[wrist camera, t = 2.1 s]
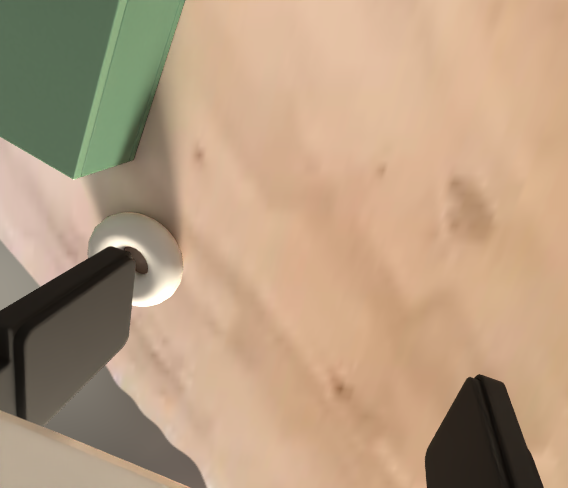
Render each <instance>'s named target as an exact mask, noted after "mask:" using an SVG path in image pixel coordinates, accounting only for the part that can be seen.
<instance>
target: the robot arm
mask: <svg viewBox="0 0 568 488" xmlns="http://www.w3.org/2000/svg"><path fill="white" fill-rule="evenodd" d="M135 268H136V262H135V260H134V259H132V256H131V253H130V252H127V251H124V250H121V249H119V248H116V247H113V246H109V247H107V248H105V249H103V250H102V251H100V252H98V253H97V254H95V255H93V256H91V257H90V258H88V259H86V260H85V261H83V262H81V263H80V264H78V265H76V266H75V267H73V268H71V269H70V270H68V271H66V272H65V273H63V274H61V275H60V276H58V277H56V278H55V279H53V280H51V281H50V282H48V283H46V284H44V285H43V286H41V287H39V288H38V289H36V290H34V291H33V292H31V293H29V294H28V295H26V296H24V297H23V298H21V299H19V300H18V301H16V302H14V303H13V304H11V305H9V306H8V307H6V308H4V309H3V310H1V311H0V488H190V487H188V486H185V485H183V484H180V483H178V482H176V481H173V480H170V479H168V478H166V477H164V476H161V475H159V474H156V473H154V472H151V471H149V470H147V469H144V468H142V467H139V466H137V465H135V464H132V463H130V462H127V461H125V460H122V459H120V458H117V457H115V456H113V455H110V454H108V453H105V452H103V451H101V450H98V449H96V448H93V447H91V446H88V445H86V444H84V443H81V442H79V441H76V440H74V439H71V438H69V437H67V436H64V435H62V434H59V433H56V432H54V431H52V430H49V429H47V428H44V426H45V425H46V424H47V423H48V422H49V421H50V420H51V419H52V418H53V417H54V416H55V415H56V414H57V413H58V412H59V411H60V410H61V409H62V408H63V407H64V406H65V405H66V404H67V403H68V402H69V401H70V400H71V399H72V398H73V397H74V396H75V395H76V394H77V393H78V392H79V391H80V390H81V389H82V388H83V387H84V386H85V385H86V384H87V383H88V382H89V381H90V380H91V379H92V378H93V377H94V376H95V375H96V374H97V373H98V372H99V371H100V370H101V369H102V368H103V367H104V366H105V365H106V364H107V363H108V362H109V361H110V360H111V359H112V358H113V357H114V356H115V355H116V354H117V353H118V352H119V351H120V350H121V349H122V348H123V347H124V345H125V344H126V342H127V340H128V337H129V329H130V319H131V309H132V299H133V288H134V278H135ZM425 469H426V482H427V488H544V487H543V484H542V482H541V479H540V476H539V473H538V471H537V468H536V465H535V462H534V460H533V457H532V455H531V453H530V451H529V450H528V448H527V446H526V443H525V440H524V437H523V434H522V432H521V429H520V426H519V423H518V421H517V418H516V415H515V412H514V409H513V407H512V404H511V401H510V398H509V396H508V393H507V390H506V387H505V385H504V383H502V382H500V381H497V380H495V379H492V378H489V377H486V376H483V375H480V374H479V375H477V376H476V377H475V378H471V377H468V378H467V379H466V381H465V383H464V384H463V386H462V388H461V390H460V391H459V393H458V395H457V397H456V399H455V400H454V402H453V404H452V406H451V407H450V409H449V411H448V413H447V415H446V416H445V418H444V420H443V422H442V423H441V425H440V427H439V429H438V431H437V432H436V434H435V436H434V438H433V439H432V441H431V443H430V445H429V447H428V449H427V452H426V456H425Z"/></svg>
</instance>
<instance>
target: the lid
mask: <svg viewBox="0 0 568 488" xmlns="http://www.w3.org/2000/svg"><path fill="white" fill-rule="evenodd" d="M126 2H127V0H0V137H2V138H3V139H5V140H7V141H9V142H10V143H12V144H14V145H15V146H17V147H19V148H20V149H22V150H24V151H26V152H27V153H29V154H31V155H32V156H34V157H36V158H38V159H39V160H41V161H43V162H44V163H46V164H48V165H50V166H51V167H53V168H55V169H56V170H58V171H60V172H61V173H63V174H65V175H67V176H68V177H70V178H72V179H77V178H80V176H81V172H82V168H83V165H84V161H85V157H86V153H87V150H88V146H89V142H90V138H91V134H92V131H93V127H94V123H95V119H96V116H97V112H98V108H99V104H100V100H101V97H102V93H103V89H104V85H105V82H106V78H107V74H108V70H109V66H110V63H111V59H112V55H113V51H114V48H115V44H116V40H117V36H118V32H119V29H120V25H121V21H122V17H123V14H124V10H125V6H126Z"/></svg>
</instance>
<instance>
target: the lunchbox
mask: <svg viewBox="0 0 568 488" xmlns="http://www.w3.org/2000/svg"><path fill="white" fill-rule="evenodd" d="M184 2H185V0H127V2H126V6H125V10H124V14H123V17H122V21H121V25H120V29H119V32H118V36H117V40H116V44H115V48H114V51H113V55H112V59H111V63H110V66H109V70H108V74H107V78H106V82H105V85H104V89H103V93H102V97H101V100H100V104H99V108H98V112H97V116H96V119H95V123H94V127H93V131H92V134H91V138H90V142H89V146H88V150H87V153H86V157H85V161H84V165H83V168H82V172H81V176H80V177H83V176H86V175H89V174H92V173H95V172H98V171H101V170H104V169H108V168H111V167H114V166H117V165H120V164H123V163H126V162H128V161H132V160H134V157H135V154H136V150H137V147H138V144H139V141H140V138H141V135H142V132H143V129H144V126H145V123H146V120H147V116H148V113H149V110H150V107H151V104H152V101H153V98H154V95H155V92H156V89H157V86H158V82H159V79H160V76H161V73H162V70H163V67H164V64H165V61H166V58H167V55H168V52H169V48H170V45H171V42H172V39H173V36H174V33H175V30H176V27H177V24H178V21H179V18H180V15H181V11H182V8H183V5H184Z"/></svg>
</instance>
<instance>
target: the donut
mask: <svg viewBox="0 0 568 488" xmlns="http://www.w3.org/2000/svg"><path fill="white" fill-rule="evenodd" d="M109 246H113V247H116V248H119V249H121V250H124V248H125V247H126V246H130V247H133V248H135V249H137V250H138V251H139V252H141V254H142V255H143V256H144V257H145V259H146V261H147V264H148V272H147V273H146V274H141V273H138V272H136V271H135V278H134V288H133V299H132V305H134V306H142V307H145V306H151V305H156V304H159V303H161V302H163V301H164V300H166V299H167V298H169V297H170V296H172V295H173V293H174V292H175V290H176V289H177V287H178V286H179V284H180V283H181V278H182V273H183V261H182V253H181V251H180V249H179V246H178V244H177V242H176V240H175V239H174V237H173V236H172V235H171V233H170V232H169V231H168V230H167V228H165V227H164V226H163V225H161V224H160V223H159V222H157V221H156V220H155V219H153V218H150V217H148V216H145V215H143V214H140V213H132V212H122V213H118V214H115V215H112V216H108V217H107V218H106V219H104V220H103V221H102V222H101V223H100V224H98V225H97V226H96V227H95V229H94V231H93V233H92V235H91V237H90V239H89V244H88V258H90V257H91V256H93V255H95V254H97V253H98V252H100V251H102V250H103V249H105V248H107V247H109Z"/></svg>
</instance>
